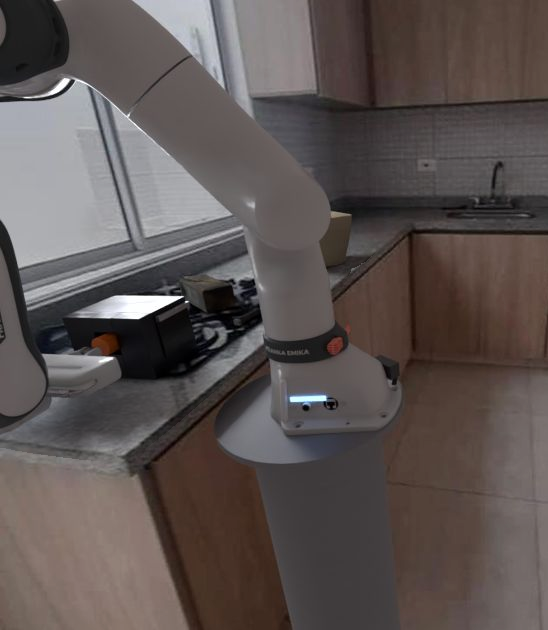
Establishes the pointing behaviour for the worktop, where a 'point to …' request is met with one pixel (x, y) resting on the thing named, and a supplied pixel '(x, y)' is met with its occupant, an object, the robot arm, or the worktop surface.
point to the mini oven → (138, 332)
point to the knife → (247, 316)
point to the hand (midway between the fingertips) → (94, 351)
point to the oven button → (106, 343)
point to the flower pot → (336, 239)
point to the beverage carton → (207, 293)
